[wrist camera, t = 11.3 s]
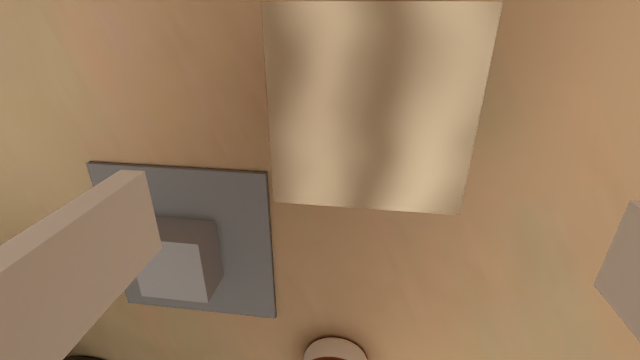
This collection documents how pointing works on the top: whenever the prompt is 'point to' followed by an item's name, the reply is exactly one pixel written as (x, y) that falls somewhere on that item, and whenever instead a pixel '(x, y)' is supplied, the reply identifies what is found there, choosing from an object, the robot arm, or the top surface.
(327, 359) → the milk bottle
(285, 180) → the lid
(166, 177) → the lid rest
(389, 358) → the top surface
